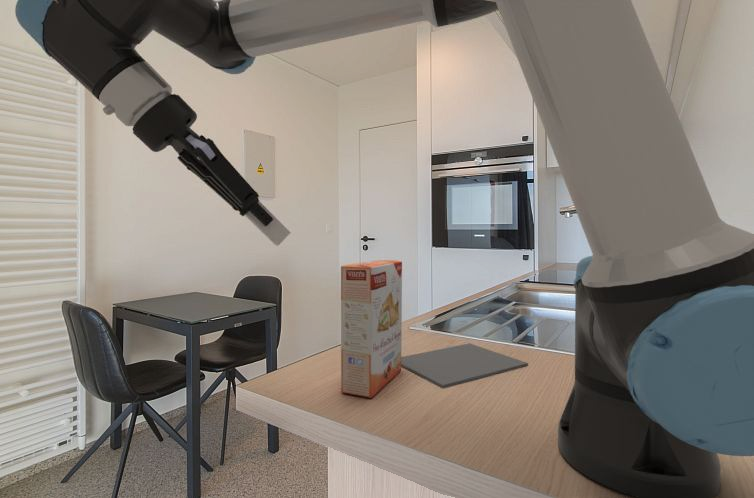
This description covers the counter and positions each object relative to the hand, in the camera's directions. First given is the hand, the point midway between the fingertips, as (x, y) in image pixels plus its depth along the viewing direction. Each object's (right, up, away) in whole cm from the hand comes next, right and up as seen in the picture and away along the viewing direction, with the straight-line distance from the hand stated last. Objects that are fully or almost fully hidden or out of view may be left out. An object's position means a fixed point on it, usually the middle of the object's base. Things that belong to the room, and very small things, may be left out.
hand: (283, 238), depth 59 cm
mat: (+30, -24, +18) cm, 43 cm away
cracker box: (+14, -25, +9) cm, 30 cm away
